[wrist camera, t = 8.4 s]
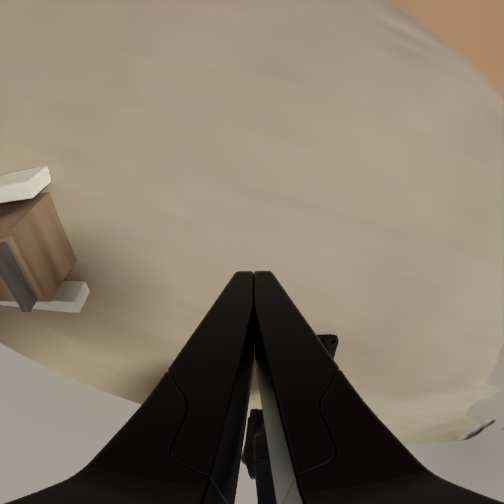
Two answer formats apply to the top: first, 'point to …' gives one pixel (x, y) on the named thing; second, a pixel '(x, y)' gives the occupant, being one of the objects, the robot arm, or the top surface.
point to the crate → (32, 251)
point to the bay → (27, 187)
